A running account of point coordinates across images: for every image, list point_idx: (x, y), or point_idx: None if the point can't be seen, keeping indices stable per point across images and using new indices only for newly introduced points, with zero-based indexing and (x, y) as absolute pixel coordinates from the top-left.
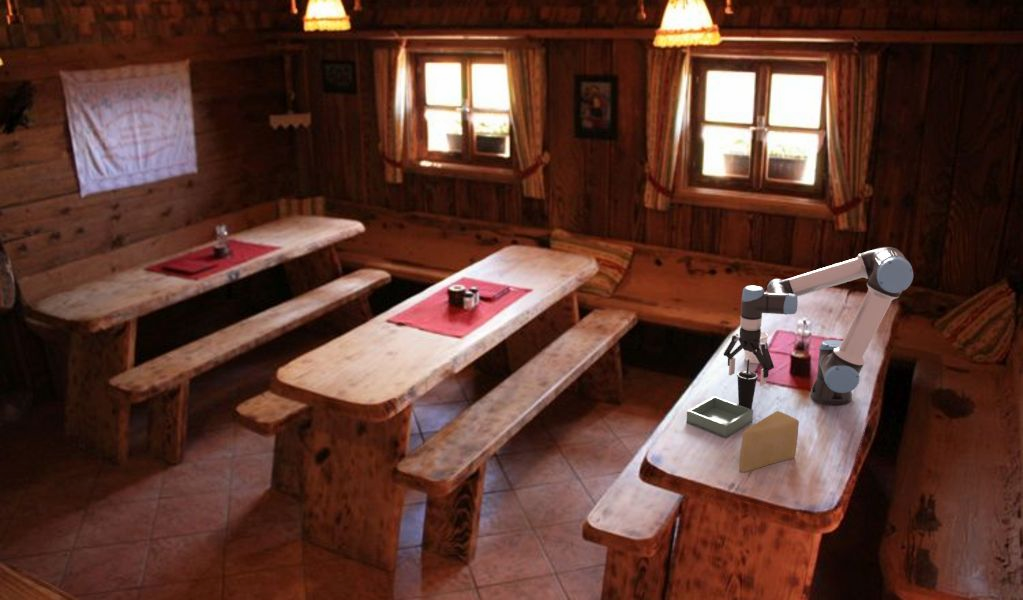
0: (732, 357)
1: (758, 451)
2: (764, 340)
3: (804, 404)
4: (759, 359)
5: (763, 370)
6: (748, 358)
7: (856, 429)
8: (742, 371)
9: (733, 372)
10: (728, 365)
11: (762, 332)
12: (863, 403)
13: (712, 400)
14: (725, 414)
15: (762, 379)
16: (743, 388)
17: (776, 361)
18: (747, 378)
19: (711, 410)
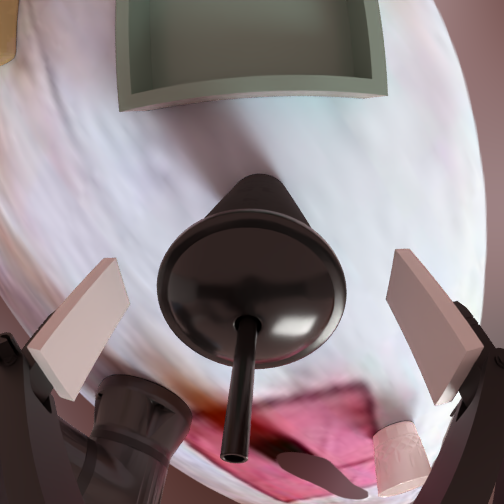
0: (463, 390)
1: None
2: (380, 485)
3: (145, 353)
4: (12, 451)
5: (8, 337)
6: (404, 429)
7: (10, 307)
8: (304, 314)
9: (392, 293)
10: (455, 303)
11: (395, 492)
12: None
13: (367, 60)
14: (263, 55)
15: (78, 291)
16: (237, 197)
17: (348, 449)
18: (192, 243)
19: (340, 46)
